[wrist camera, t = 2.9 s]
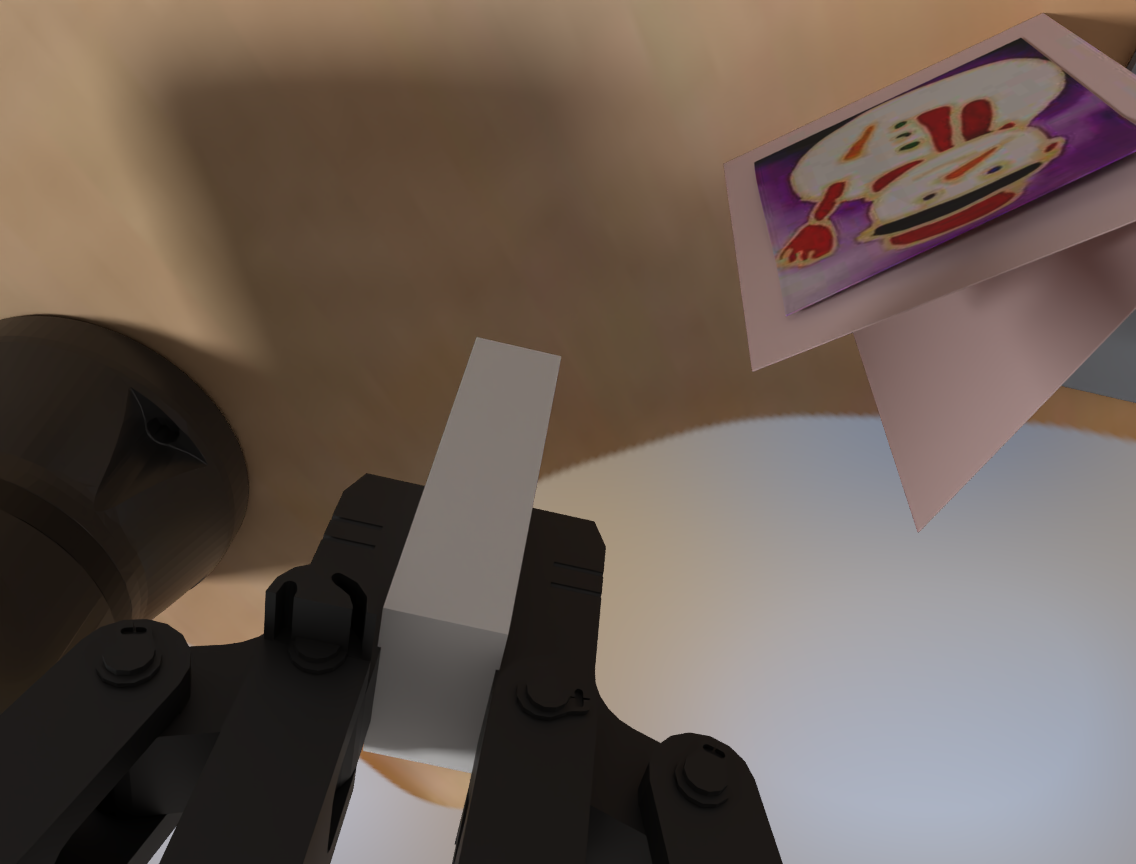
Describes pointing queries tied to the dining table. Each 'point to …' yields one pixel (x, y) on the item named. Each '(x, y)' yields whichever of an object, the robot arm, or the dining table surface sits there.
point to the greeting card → (950, 242)
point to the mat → (1111, 355)
